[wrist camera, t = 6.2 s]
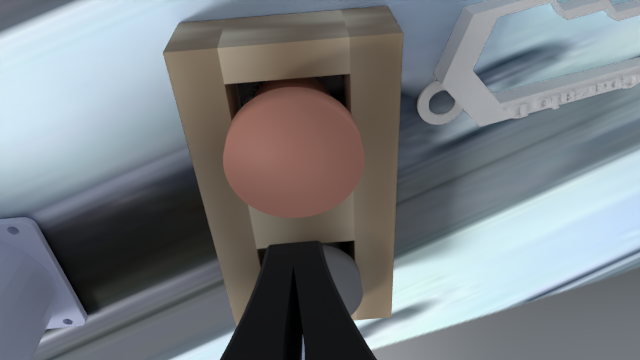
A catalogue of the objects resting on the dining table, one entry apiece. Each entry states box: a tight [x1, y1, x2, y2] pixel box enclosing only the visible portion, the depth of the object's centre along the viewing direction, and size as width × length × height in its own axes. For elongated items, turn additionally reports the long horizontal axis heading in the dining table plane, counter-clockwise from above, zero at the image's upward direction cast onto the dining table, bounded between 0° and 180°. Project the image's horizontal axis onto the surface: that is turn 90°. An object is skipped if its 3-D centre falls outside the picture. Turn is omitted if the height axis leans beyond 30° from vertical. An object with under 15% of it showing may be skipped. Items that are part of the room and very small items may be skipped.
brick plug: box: [223, 77, 365, 218], centre depth 18 cm, size 5×5×4 cm
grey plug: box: [322, 242, 363, 316], centre depth 23 cm, size 5×5×4 cm
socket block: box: [163, 6, 403, 327], centre depth 22 cm, size 8×15×3 cm, turn 3°
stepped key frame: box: [417, 0, 640, 127], centre depth 20 cm, size 13×5×2 cm, turn 104°
